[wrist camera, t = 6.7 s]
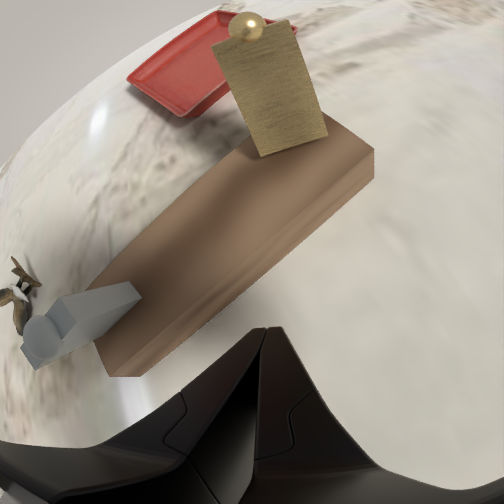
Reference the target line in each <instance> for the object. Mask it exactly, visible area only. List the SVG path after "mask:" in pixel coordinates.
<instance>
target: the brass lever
mask: <svg viewBox="0 0 504 504" xmlns="http://www.w3.org/2000/svg"><path fill="white" fill-rule="evenodd" d="M228 32H229V35H230V38H228V39H225V40H223V41H220V42H218V43H215V44H213V45H212V46H211V49H212V51H213V53H214V55H215V58H216V60H217V62H218V64H219V66H220V68H221V70H222V72H223V74H224V76H225V79H226V81H227V83H228V85H229V87H230V89H231V91H232V94H233V96H234V98H235V100H236V102H237V104H238V107H239V109H240V111H241V113H242V115H243V118H244V120H245V122H246V124H247V127H248V129H249V131H250V133H251V136H252V138H253V140H254V142H255V145H256V147H257V149H258V152H259V154H260V156H261V157H262V156H265V155H268V154H271V153H274V152H277V151H280V150H283V149H286V148H290V147H293V146H296V145H299V144H302V143H306V142H309V141H312V140H316V139H319V138H323V137H326V136H328V132H327V129H326V126H325V122H324V119H323V116H322V112H321V109H320V106H319V103H318V100H317V97H316V94H315V91H314V88H313V85H312V82H311V79H310V76H309V73H308V70H307V67H306V65H305V62H304V59H303V56H302V54H301V51H300V48H299V46H298V43H297V40H296V38H295V35H294V33H293V30H292V28H291V25H290V23H289V20H287V19H285V20H281V21H278V22H274V23H271V24H268V25H266V22H265V20H264V19H263V18H262V17H261V16H260V15H258V14H256V13H253V12H242V13H239V14H237V15H236V16H234V17H233V18H232V20H231V21H230V23H229V26H228Z"/></svg>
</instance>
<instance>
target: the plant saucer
mask: <svg viewBox="0 0 504 504" xmlns="http://www.w3.org/2000/svg"><path fill="white" fill-rule="evenodd" d="M237 14H239V13H235V12H228V11H222V10H217V11H214V12H212V13H210V14H209V15H207V16H206V17H204V18H203V19H201V20H200V21H198V22H197V23H195V24H194V25H192V26H191V27H189V28H188V29H187V30H185V31H184V32H182V33H181V34H180V35H178V36H177V37H175V38H174V39H173V40H171V41H170V42H169V43H167V44H166V45H165V46H163V47H162V48H161V49H160V50H158V51H157V52H156V53H155V54H153V55H152V56H151V57H150V58H148V59H147V60H146V61H145V62H144V63H142V64H141V65H140V66H139V67H138V68H137V69H135V70H134V71H133V72H132V73H131V74H130V75H129V76H128V77H127V79H126V80H127V81H128V82H129V83H131V84H132V85H134V86H135V87H137V88H138V89H139V90H141V91H142V92H144V93H145V94H147V95H148V96H150V97H151V98H153V99H154V100H156V101H157V102H158V103H160V104H161V105H163V106H164V107H165V108H167V109H168V110H170V111H171V112H172V113H174V114H175V115H176V116H178V117H183V118H190V117H197V116H199V115H201V114H202V113H204V112H205V111H206V110H207V109H208V108H209V107H211V106H212V105H213V104H214V103H215V102H216V101H218V100H219V99H220V98H221V97H222V96H224V95H225V94H226V93H227V92H229V91H230V90H231V89H230V87H229V85H228V83H227V81H226V79H225V76H224V74H223V72H222V70H221V68H220V66H219V64H218V62H217V60H216V58H215V55H214V53H213V51H212V49H211V46H212V45H213V44H215V43H218V42H220V41H223V40H225V39H228V38H230V35H229V32H228V26H229V23H230V21H231V20H232V18H233V17H234V16H236V15H237ZM263 19H264V20H265V22H266V25H268V24H271V23H274V22H277V21H273V20H269V19H265V18H263ZM291 28H292V30H293V33H294V35H295V34H296V33H297V30H298V27H296V26H293V25H291Z"/></svg>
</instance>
